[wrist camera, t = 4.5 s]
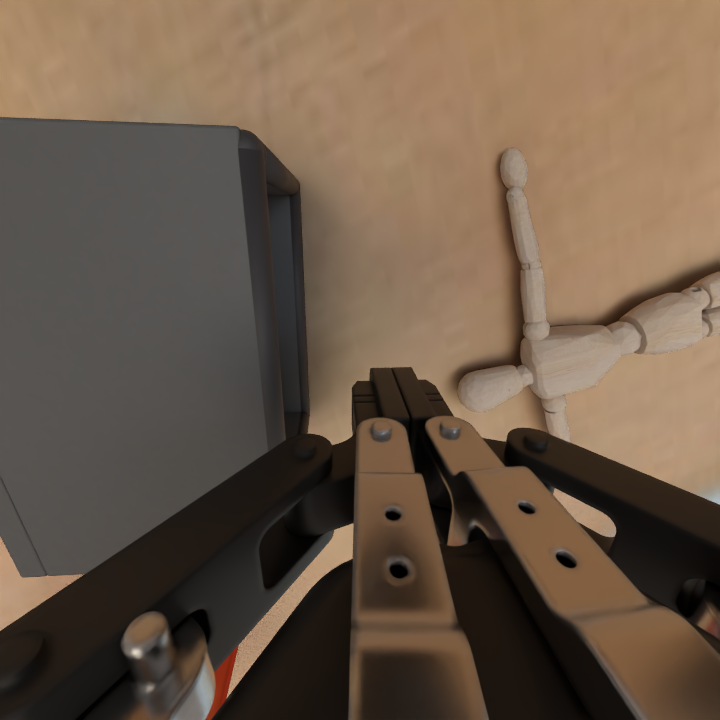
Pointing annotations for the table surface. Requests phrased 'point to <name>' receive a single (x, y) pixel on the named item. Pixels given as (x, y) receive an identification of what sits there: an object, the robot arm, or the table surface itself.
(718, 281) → the artist's mannequin
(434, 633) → the robot arm
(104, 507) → the basket
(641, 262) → the table surface
